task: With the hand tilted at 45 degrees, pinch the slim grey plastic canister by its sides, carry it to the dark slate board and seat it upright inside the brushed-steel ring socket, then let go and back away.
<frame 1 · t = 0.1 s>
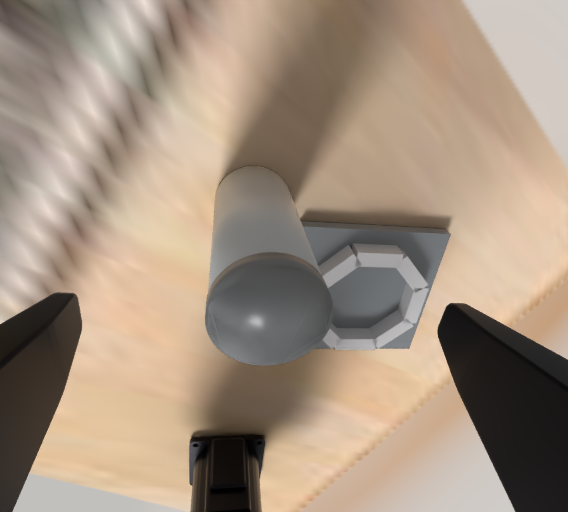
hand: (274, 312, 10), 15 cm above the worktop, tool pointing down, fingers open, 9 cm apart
ring socket board: (358, 288, 28), on the worktop
canister: (253, 203, 24), on the worktop
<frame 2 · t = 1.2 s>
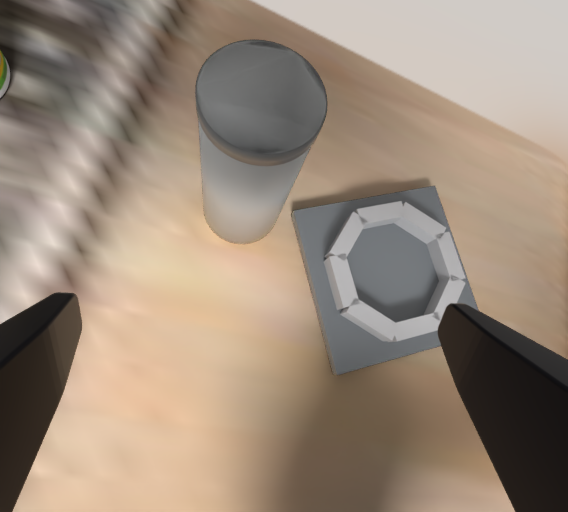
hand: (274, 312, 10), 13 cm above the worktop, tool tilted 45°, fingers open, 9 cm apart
ring socket board: (384, 274, 25), on the worktop
canister: (241, 208, 24), on the worktop
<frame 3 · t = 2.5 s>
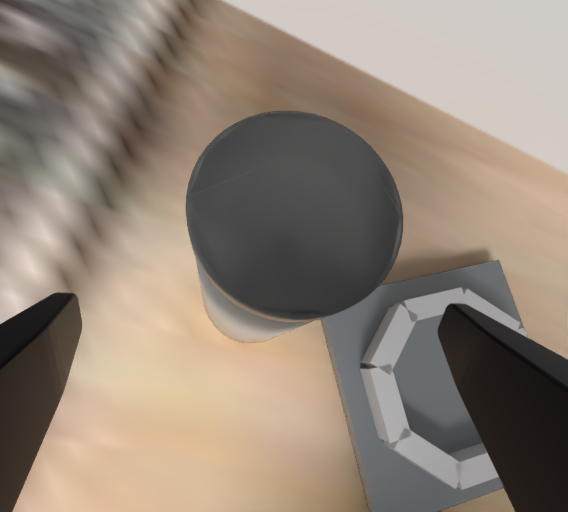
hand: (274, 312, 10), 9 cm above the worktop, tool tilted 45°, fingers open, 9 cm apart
ring socket board: (437, 379, 19), on the worktop
canister: (252, 294, 19), on the worktop
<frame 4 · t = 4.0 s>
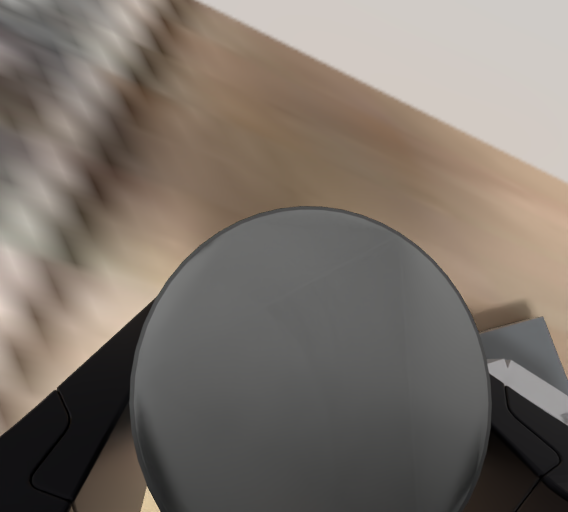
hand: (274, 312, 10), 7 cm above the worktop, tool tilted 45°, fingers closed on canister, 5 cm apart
ring socket board: (474, 466, 16), on the worktop
canister: (249, 368, 15), on the worktop, touching gripper
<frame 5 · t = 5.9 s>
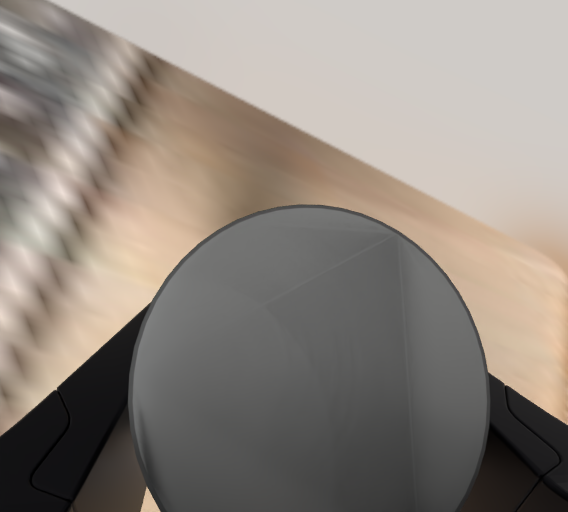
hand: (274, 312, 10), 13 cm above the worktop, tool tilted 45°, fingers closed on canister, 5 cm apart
canister: (249, 367, 15), point 7 cm above the worktop, touching gripper
when the fingers open (9 cm above the worktop, at t = 8.1 s): canister drops 1 cm, resting on ring socket board.
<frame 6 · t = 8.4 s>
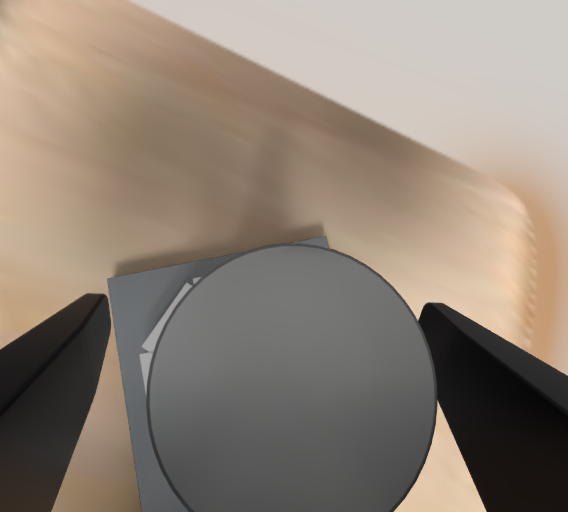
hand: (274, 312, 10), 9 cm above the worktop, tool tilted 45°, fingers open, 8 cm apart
ring socket board: (245, 366, 18), on the worktop
canister: (247, 368, 17), point 1 cm above the worktop, touching ring socket board
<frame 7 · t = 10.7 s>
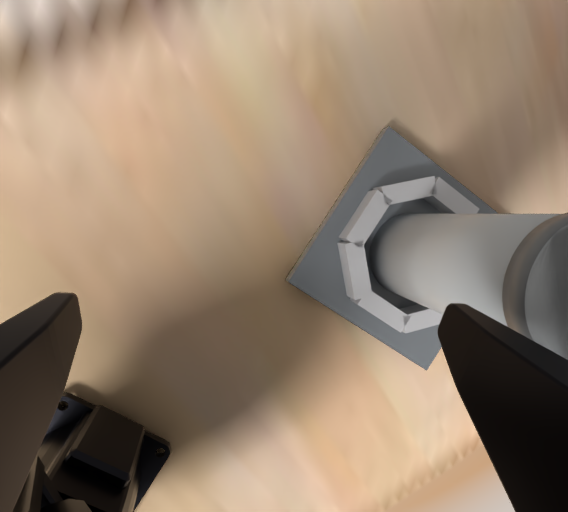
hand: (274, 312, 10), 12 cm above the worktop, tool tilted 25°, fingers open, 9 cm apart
ring socket board: (401, 252, 23), on the worktop
canister: (408, 254, 22), point 1 cm above the worktop, touching ring socket board
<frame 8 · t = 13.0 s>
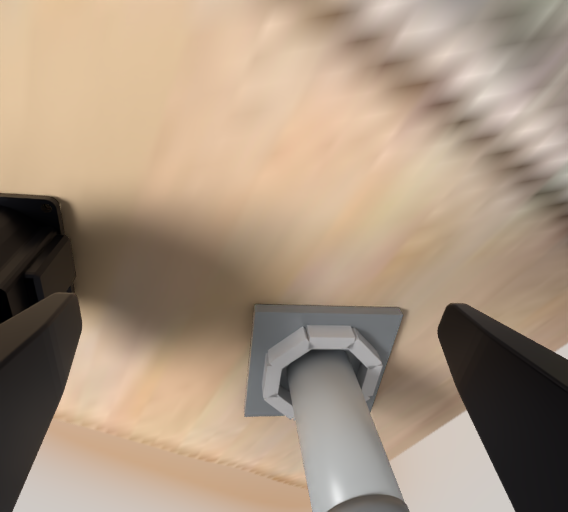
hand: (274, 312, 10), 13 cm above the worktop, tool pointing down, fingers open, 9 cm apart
ring socket board: (317, 360, 29), on the worktop
canister: (318, 369, 28), point 1 cm above the worktop, touching ring socket board
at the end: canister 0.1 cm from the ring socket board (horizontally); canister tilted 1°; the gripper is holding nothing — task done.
